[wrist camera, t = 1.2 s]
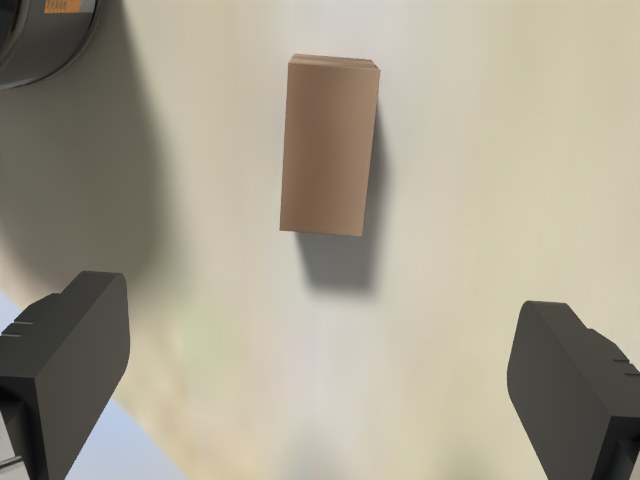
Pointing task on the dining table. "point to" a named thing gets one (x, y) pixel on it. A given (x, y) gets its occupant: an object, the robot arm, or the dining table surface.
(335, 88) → the block
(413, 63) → the dining table surface
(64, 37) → the supplement container
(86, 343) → the robot arm
